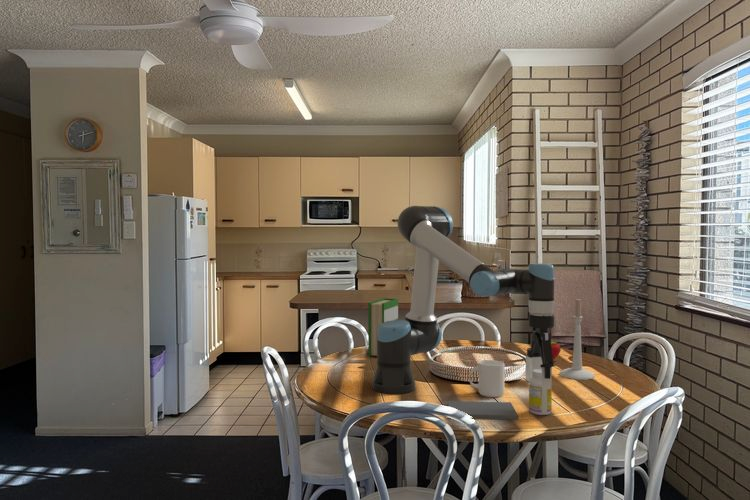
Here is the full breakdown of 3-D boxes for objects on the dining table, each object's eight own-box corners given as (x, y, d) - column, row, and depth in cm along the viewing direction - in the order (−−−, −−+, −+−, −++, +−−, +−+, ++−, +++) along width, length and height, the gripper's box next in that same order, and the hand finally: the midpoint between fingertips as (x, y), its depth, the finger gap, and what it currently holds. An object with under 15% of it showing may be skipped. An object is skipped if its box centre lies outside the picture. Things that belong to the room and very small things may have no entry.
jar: (538, 386, 205) (538, 352, 204) (521, 380, 212) (521, 348, 211) (554, 382, 210) (555, 350, 209) (537, 377, 217) (537, 346, 216)
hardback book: (383, 358, 248) (384, 303, 247) (368, 356, 251) (368, 302, 250) (397, 350, 265) (398, 298, 264) (383, 349, 267) (383, 298, 267)
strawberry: (561, 363, 240) (562, 339, 240) (543, 362, 241) (543, 338, 241) (559, 359, 246) (559, 336, 246) (541, 359, 247) (541, 336, 247)
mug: (470, 388, 201) (470, 358, 201) (504, 391, 198) (505, 360, 197) (467, 395, 193) (467, 364, 192) (503, 398, 190) (503, 366, 189)
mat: (450, 417, 170) (450, 413, 170) (447, 404, 183) (447, 400, 183) (518, 419, 168) (518, 415, 168) (510, 406, 181) (510, 402, 181)
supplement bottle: (547, 408, 179) (547, 368, 178) (554, 415, 172) (555, 373, 172) (526, 409, 179) (526, 368, 178) (532, 415, 172) (533, 373, 171)
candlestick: (570, 380, 212) (571, 300, 211) (553, 372, 225) (554, 296, 224) (601, 379, 215) (603, 299, 213) (582, 370, 227) (584, 296, 226)
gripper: (564, 320, 162) (564, 394, 162) (544, 308, 186) (544, 373, 187) (537, 320, 162) (537, 394, 163) (521, 308, 187) (521, 373, 187)
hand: (541, 383), depth 175 cm, fingers open, 13 cm apart
